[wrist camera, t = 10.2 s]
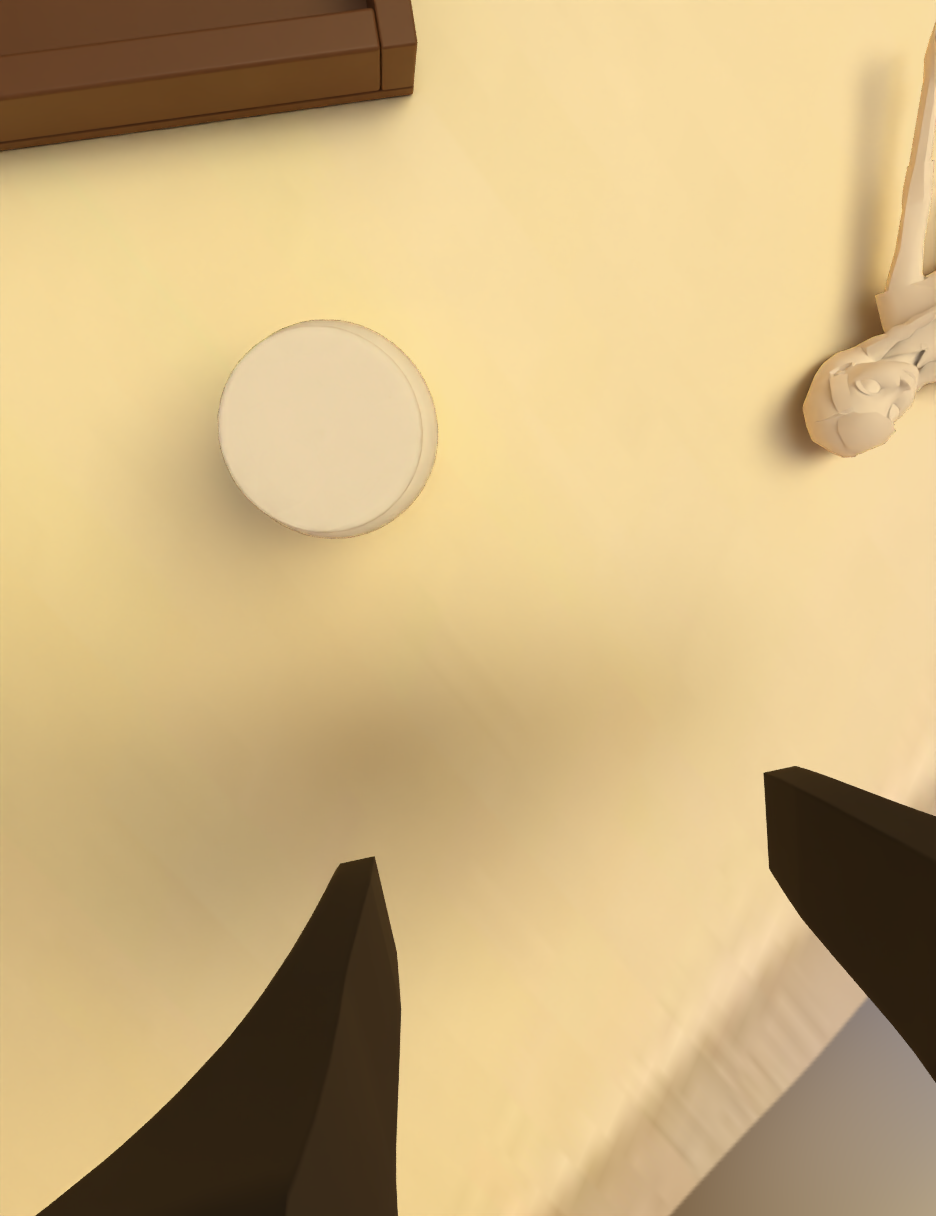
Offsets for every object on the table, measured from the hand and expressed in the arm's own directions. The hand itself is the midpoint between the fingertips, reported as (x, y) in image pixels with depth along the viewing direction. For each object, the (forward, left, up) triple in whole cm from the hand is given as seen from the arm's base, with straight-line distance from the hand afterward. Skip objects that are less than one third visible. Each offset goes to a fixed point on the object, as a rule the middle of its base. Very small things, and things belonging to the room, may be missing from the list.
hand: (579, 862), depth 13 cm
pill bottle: (-3, +8, -10) cm, 13 cm away
